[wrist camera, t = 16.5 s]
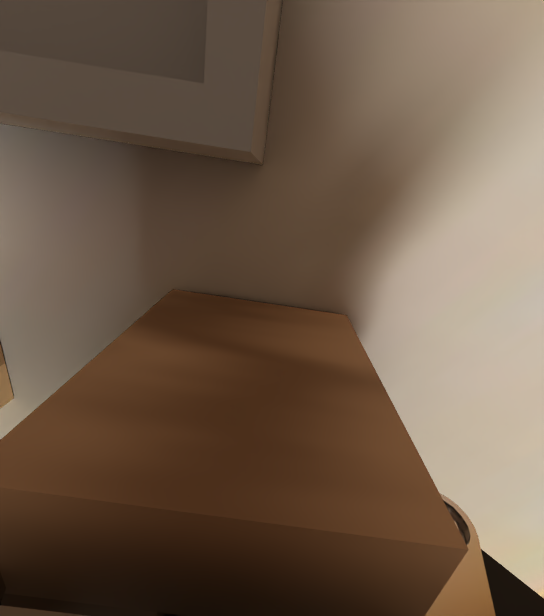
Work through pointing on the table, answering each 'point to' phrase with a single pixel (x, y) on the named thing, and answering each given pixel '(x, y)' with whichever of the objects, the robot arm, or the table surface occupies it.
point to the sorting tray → (143, 71)
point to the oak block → (4, 382)
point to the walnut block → (223, 476)
